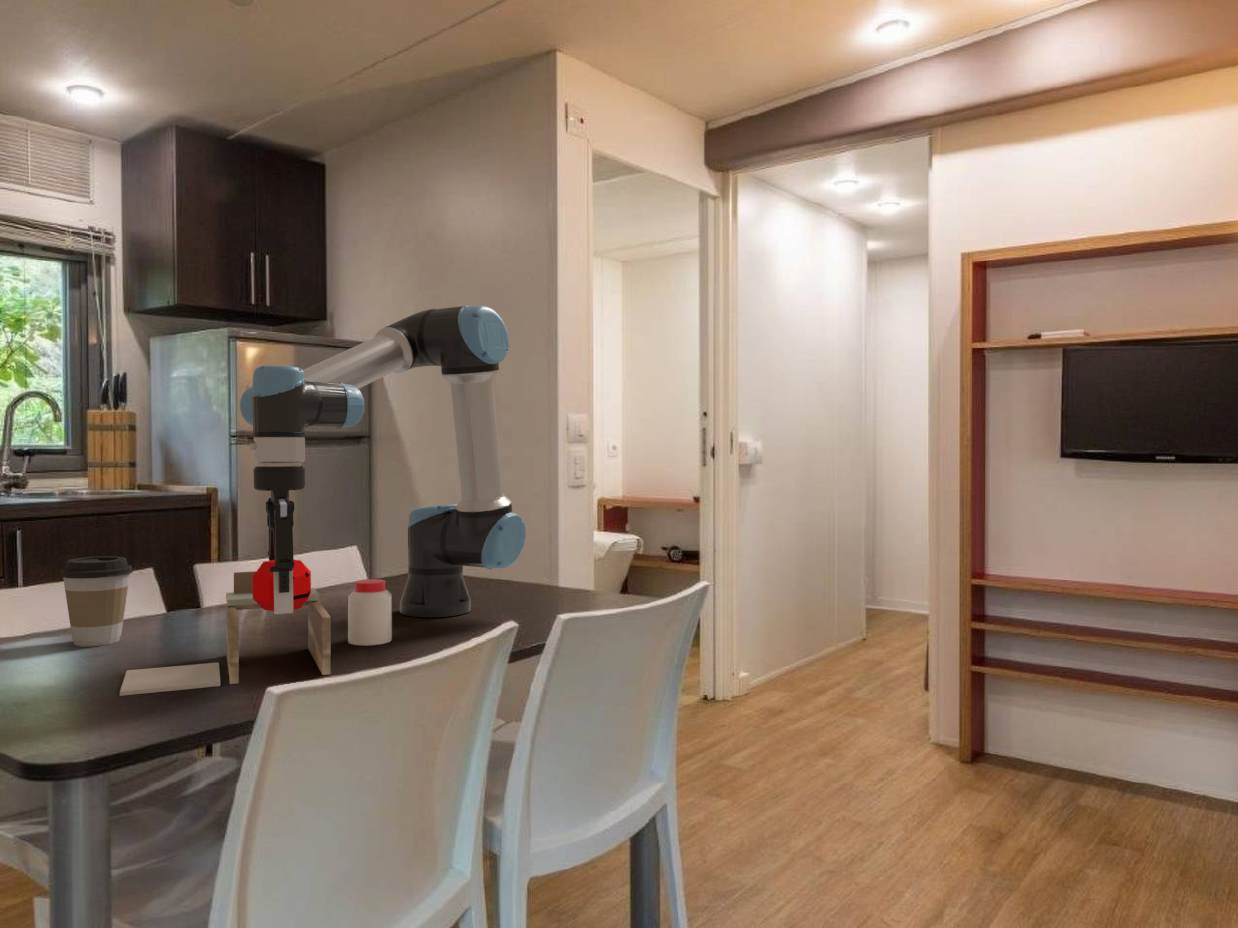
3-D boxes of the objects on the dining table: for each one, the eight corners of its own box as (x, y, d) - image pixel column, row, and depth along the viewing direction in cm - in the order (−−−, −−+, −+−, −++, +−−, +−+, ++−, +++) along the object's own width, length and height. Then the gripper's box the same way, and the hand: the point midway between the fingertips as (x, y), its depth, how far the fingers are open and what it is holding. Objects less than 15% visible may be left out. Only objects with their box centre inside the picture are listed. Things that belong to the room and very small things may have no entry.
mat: (218, 665, 142) (218, 662, 142) (220, 685, 130) (220, 681, 130) (126, 674, 136) (126, 670, 136) (119, 695, 124) (119, 691, 124)
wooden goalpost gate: (315, 647, 155) (315, 597, 155) (330, 674, 137) (330, 616, 137) (226, 655, 149) (226, 602, 149) (229, 684, 131) (230, 624, 131)
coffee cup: (147, 639, 161) (147, 557, 161) (87, 652, 151) (86, 565, 150) (106, 633, 166) (106, 554, 165) (45, 645, 155) (45, 560, 155)
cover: (313, 593, 157) (313, 568, 157) (319, 600, 150) (319, 574, 150) (226, 598, 151) (226, 572, 151) (227, 606, 144) (227, 578, 144)
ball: (279, 615, 133) (278, 565, 133) (243, 610, 137) (243, 562, 137) (320, 607, 140) (319, 559, 140) (285, 602, 144) (285, 556, 144)
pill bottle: (400, 638, 164) (400, 579, 163) (375, 647, 156) (375, 585, 156) (364, 635, 166) (365, 577, 166) (339, 643, 159) (339, 583, 159)
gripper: (249, 463, 146) (251, 598, 146) (257, 467, 126) (259, 622, 127) (297, 462, 149) (299, 594, 150) (312, 466, 130) (314, 618, 130)
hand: (281, 607), depth 138 cm, fingers closed on ball, 9 cm apart
